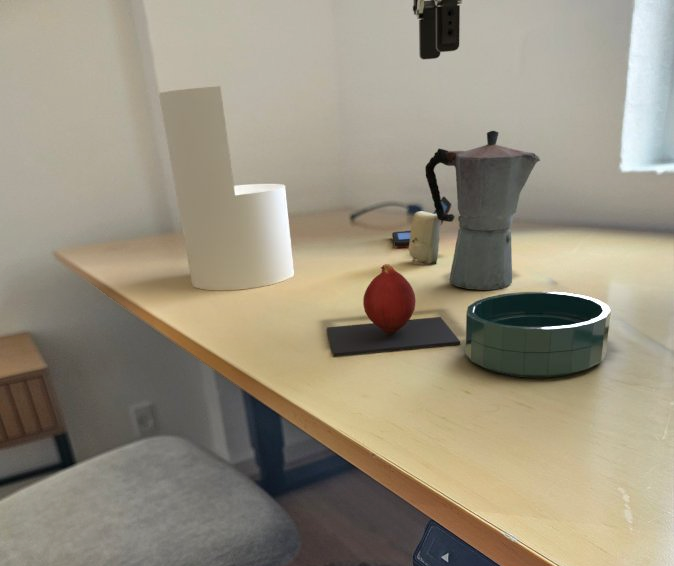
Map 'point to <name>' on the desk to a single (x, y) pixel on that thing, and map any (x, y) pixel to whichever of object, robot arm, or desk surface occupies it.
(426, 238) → the cream rounded pillar
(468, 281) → the moka pot
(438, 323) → the mat
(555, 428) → the desk surface
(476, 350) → the bowl
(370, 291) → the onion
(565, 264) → the desk surface
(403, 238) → the handheld console
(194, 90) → the white cylindrical chair
